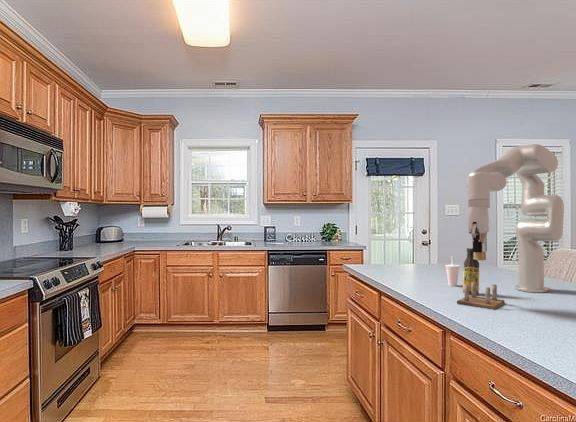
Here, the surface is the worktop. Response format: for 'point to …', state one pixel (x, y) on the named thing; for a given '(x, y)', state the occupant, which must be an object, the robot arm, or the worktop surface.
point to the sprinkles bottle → (483, 254)
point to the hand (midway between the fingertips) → (479, 251)
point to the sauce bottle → (471, 271)
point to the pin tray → (481, 298)
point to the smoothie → (452, 273)
